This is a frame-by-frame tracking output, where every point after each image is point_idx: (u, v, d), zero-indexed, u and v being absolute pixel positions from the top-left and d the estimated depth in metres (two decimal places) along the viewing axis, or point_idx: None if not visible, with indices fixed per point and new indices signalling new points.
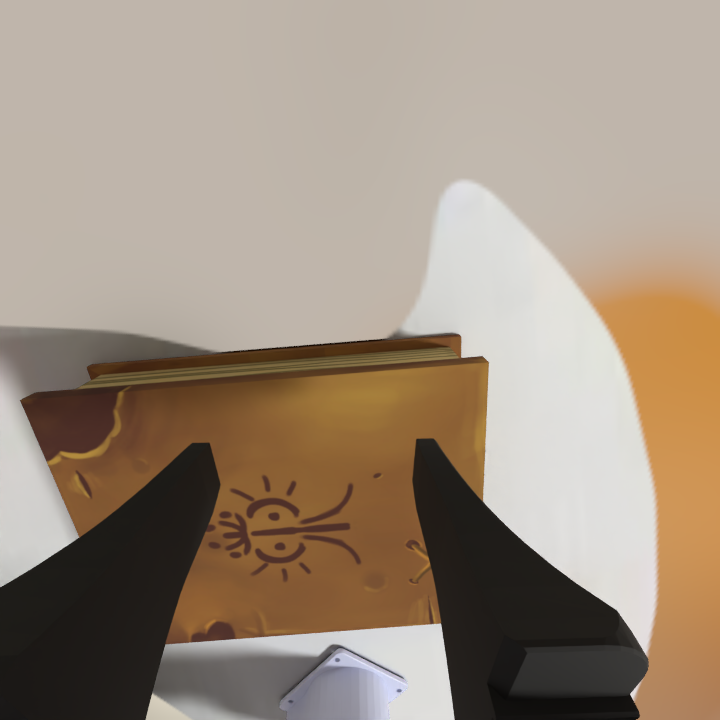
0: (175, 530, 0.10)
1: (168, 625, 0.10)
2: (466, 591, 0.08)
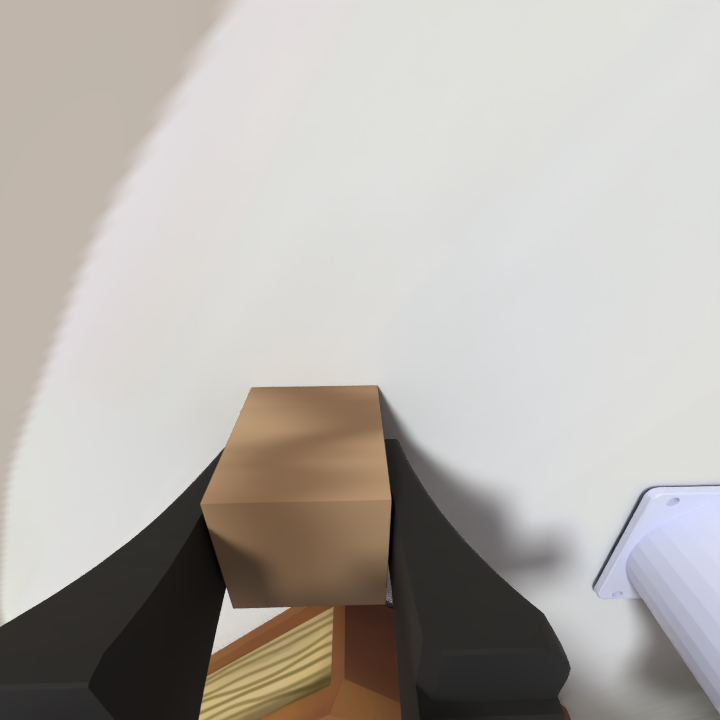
0: None
1: (216, 623, 0.10)
2: (405, 593, 0.08)
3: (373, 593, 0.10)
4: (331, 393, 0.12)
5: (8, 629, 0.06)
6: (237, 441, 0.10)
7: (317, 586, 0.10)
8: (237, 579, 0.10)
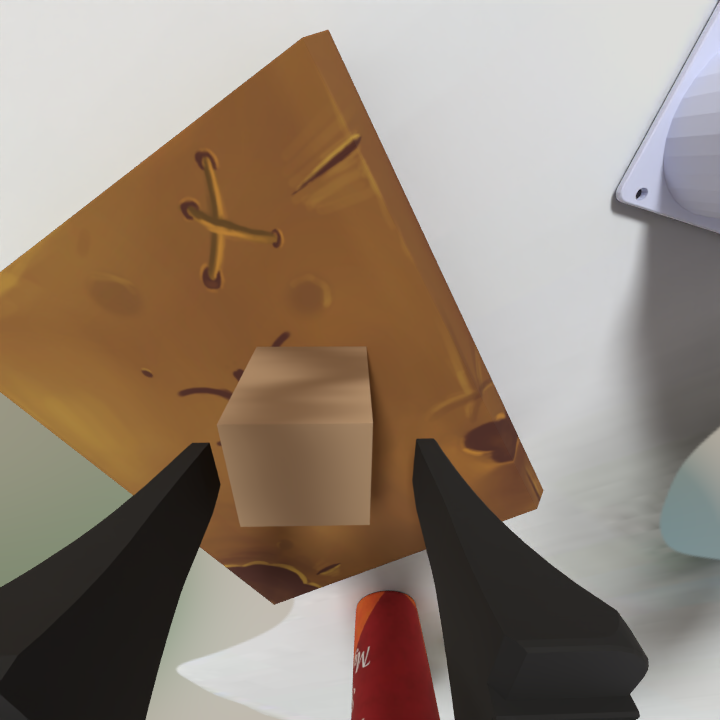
0: (175, 530, 0.10)
1: (168, 625, 0.10)
2: (466, 591, 0.08)
3: (359, 513, 0.12)
4: (326, 351, 0.14)
5: None
6: (245, 384, 0.12)
7: (312, 506, 0.12)
8: (244, 497, 0.12)
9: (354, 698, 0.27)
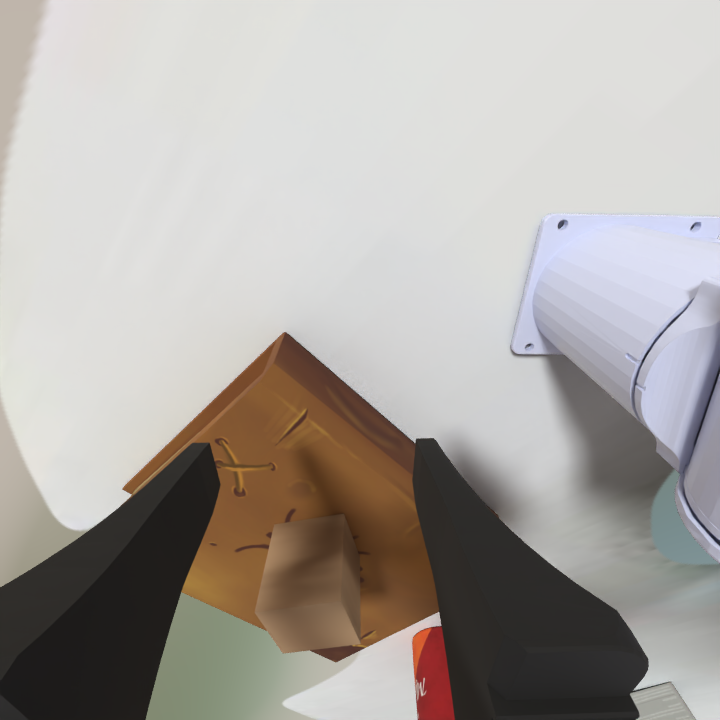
0: (175, 530, 0.10)
1: (168, 625, 0.10)
2: (466, 591, 0.08)
3: (352, 639, 0.20)
4: (317, 524, 0.22)
5: None
6: (268, 569, 0.20)
7: (322, 639, 0.20)
8: (280, 640, 0.20)
9: None
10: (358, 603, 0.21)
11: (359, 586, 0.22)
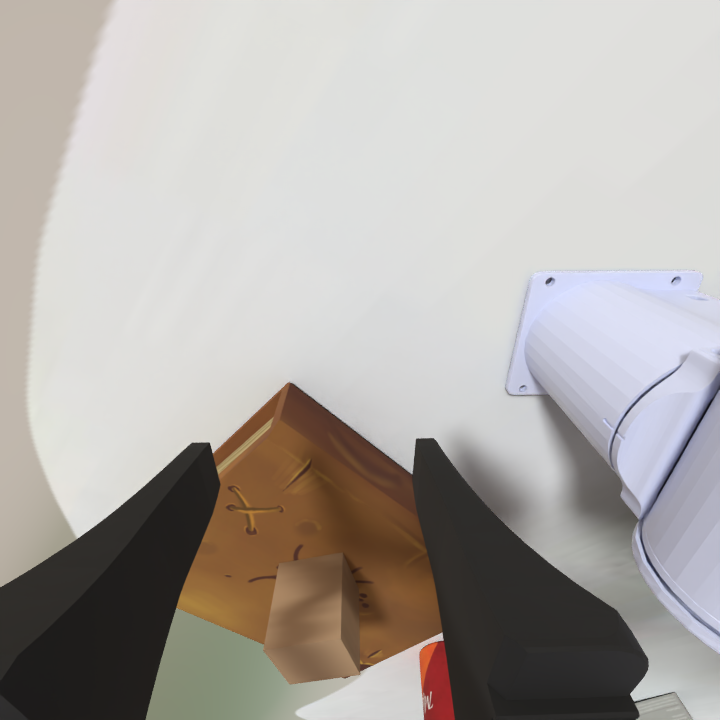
0: (175, 530, 0.10)
1: (168, 625, 0.10)
2: (466, 591, 0.08)
3: (352, 671, 0.22)
4: (318, 563, 0.24)
5: None
6: (275, 608, 0.22)
7: (324, 671, 0.22)
8: (287, 673, 0.22)
9: None
10: (357, 635, 0.23)
11: (358, 618, 0.24)
